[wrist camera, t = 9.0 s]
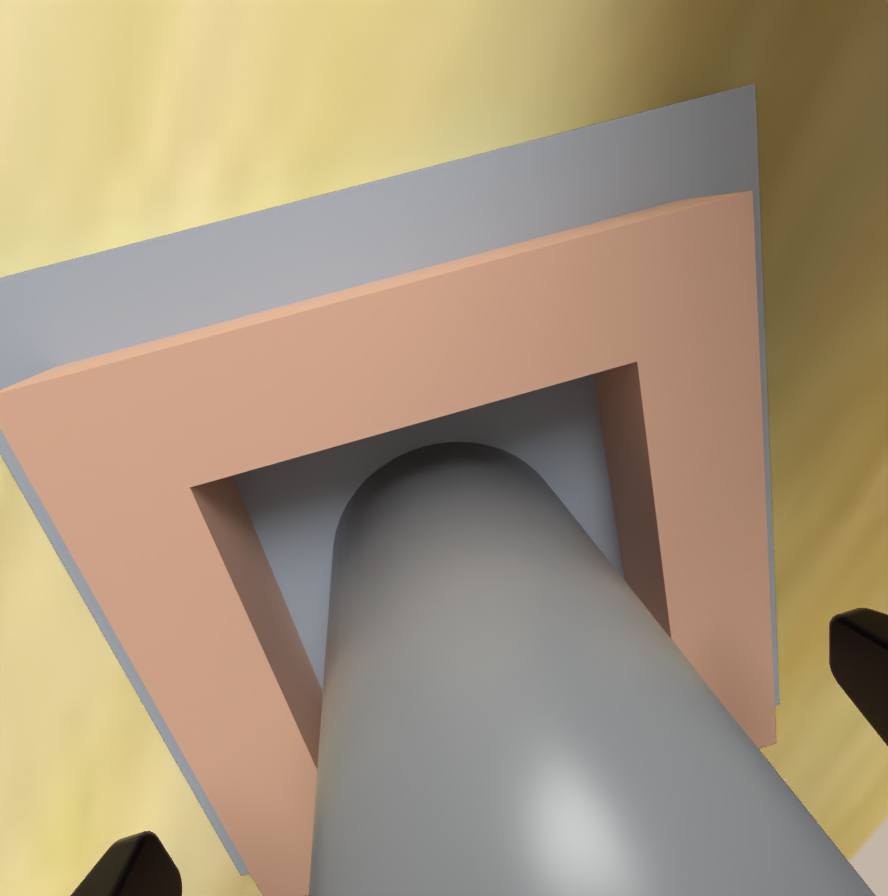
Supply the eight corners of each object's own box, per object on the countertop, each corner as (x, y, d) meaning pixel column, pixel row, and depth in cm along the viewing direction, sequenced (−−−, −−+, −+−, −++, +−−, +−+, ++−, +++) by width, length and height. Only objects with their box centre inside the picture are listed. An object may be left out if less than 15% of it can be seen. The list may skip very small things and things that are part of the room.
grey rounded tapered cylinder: (542, 412, 11) (1122, 939, 3) (581, 612, 13) (1007, 1314, 4) (299, 482, 11) (113, 1297, 2) (371, 676, 13) (405, 1543, 4)
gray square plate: (733, 91, 10) (850, 45, 8) (763, 687, 15) (840, 771, 13) (-62, 296, 10) (-204, 316, 7) (245, 851, 15) (223, 973, 12)
